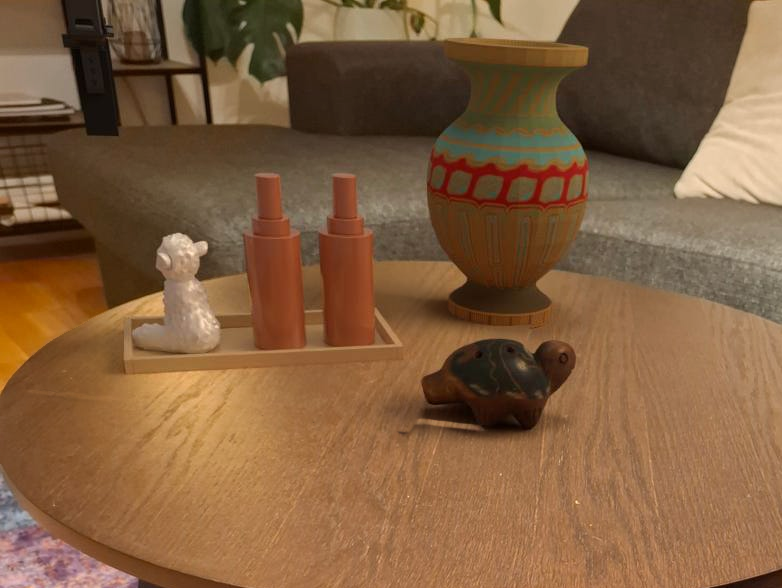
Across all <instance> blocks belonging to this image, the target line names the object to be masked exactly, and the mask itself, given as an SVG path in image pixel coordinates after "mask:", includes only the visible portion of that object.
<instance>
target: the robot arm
mask: <svg viewBox="0 0 782 588" xmlns="http://www.w3.org/2000/svg"><path fill="white" fill-rule="evenodd" d="M64 3H65V10H66V17H67V24H68V27H67V33H61V41H62V46H63V48H64V49H66V48H67V49H72V56H73V61H74V67H75V68H74V69H75V73H76V79H77V86H78V92H79V98H80V102H81V108H82V115H83V120H84V126H85V131H86V132H85V133H86V136H90V137H91V136H93V137H94V136H95V137H120V131H119V125H118V119H117V117H119V116H120V108H119V102H118V95H117V88H116V82H115V75H114V70H113V69H114V68H113V63H112V55H111V48H110V43H109V41H110V40H109V38H115V31H114V25H113V24H107V19H106V17H105V16H104V10H103V3H102V0H64Z"/></svg>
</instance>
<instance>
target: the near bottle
mask: <svg viewBox="0 0 782 588" xmlns="http://www.w3.org/2000/svg"><path fill="white" fill-rule="evenodd" d="M253 175H254V177H253V178H254V189H255V200H256V211H257V213H255V214H252V215H251V217H250V219H251V227H248V228H245V229H244V230H242V237H243V248H244V249H243V250H244V258H245V268H246V269H245V270H246V277H247V279H246V280H247V288H248V289H247V290H248V298H249V309H250V313H251V320H252V331H253V341H254V346H255V347H257V348H258V349H261V350H264V351H268V350H288V349H302V348H304V347H305V346H306V345H307V336H306V320H305V310H306V307H305V288H304V275H303V273H304V272H303V259H302V241H301V240H302V239H301V231H300V230H298V229H296V228H294V227H291V217H290V215H287V214H285V213H283V200H282V186H281V184H282V183H281V176H280V174H278V173H275V172H258V173H255V174H253Z"/></svg>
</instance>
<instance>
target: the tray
mask: <svg viewBox="0 0 782 588" xmlns="http://www.w3.org/2000/svg"><path fill="white" fill-rule="evenodd" d="M214 314H215V318H216V319H217V320H218V322H219V323H220V330H221V333H220V339H219V340H220V342H219V344H218V345H217V346H216V347H215V348H214V349H213V350H211V351H209V352H205V353H201V354H184V353H173V352H164V351H155V350H145V349H142V348H139V347H137V346H136V345H135V344H134V342H133V339H132V332H133V330H134V329H136V328H138V327H141V326H142V325H143V324H144V323H147V324H150V325H152V324H155V323H157V324H159V325H160V326H162V325H165V324H164V317H165V315H147V316H124V317H123V356H122V357H123V358H122V359H123V367H124V372H125V375H126V376H128V375H144V374H165V373H180V372H181V373H182V372H183V373H184V372H199V371H200V372H204V371H221V370H238V369H255V368H256V369H257V368H275V367H276V368H277V367H278V368H279V367H296V366H297V367H298V366H312V365H315V366H316V365H332V364H351V363H352V364H353V363H368V362H387V361H388V362H389V361H404V355H405V354H404V351H405V350H404V345H403V343H402V342H401V341H400V339H399V338H398V336H397V335H396V333H395V331H394V330H393V329H392V328H391V326H390V325H389V324H388V322H387V321H386V319H385V318H384V316H383V315H382V313H381V312H380V311H379V310H378V308H377V307H375V342H374V343H373V344H372V345H370V346H350V347H333V346H330V345H328V344H326V343H325V342H324V337H323V318H322V309H308V310H306V309H305V320H306V336H307V345H306V346H305V347H304V348H302V349H288V350H268V351H264V350H261V349H258V348H257V347H255V346H254V341H253V331H252V320H251V312H228V313H227V312H226V313H214Z"/></svg>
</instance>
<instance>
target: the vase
mask: <svg viewBox="0 0 782 588" xmlns="http://www.w3.org/2000/svg"><path fill="white" fill-rule="evenodd" d="M443 56H444V57H445V58H447V59H448V60H450V61H452V62H453V63H455V64H456V65H458V66H459V67H461V68H462V70H463V71H464V72H465V73H466V75H467V76H468V80H469V82H470V96H469V100H468V101H469V102H468V105H467V108H466V109H465V111H464V112H463V113H462V114H461V115H460V116H459V117H458V118H456V119H455V120H454V121H453V122H451V124H449V126H448V127H446V128H445V130H444V131H442V133H440V135H438V137H437V139H436V142H435V143H434V144H433V147H432V149H431V153H430V156H429V160H428V164H427V171H426V204H427V208H428V213H429V218H430V223H431V226H432V229H433V231H434V234H435V236H436V238H437V241H438V243H439V246H440V248H441V249H442V250H443V252H444V253H445V255H446V256H447V257H448V259H449V260H450V261H451V263H453V265H455V266H456V268H457V269H458V270H459V271H460V272H461V273H462V274H463V275H464V276H465V277H466V281H465V283H463V284H462V285H460V286H459V287H457V288H455V289H454V290H453V291H451V292H450V293H448V298H447V309H448V311H449V312H450V314H451V315H454V316H455V317H457V318H459V319H462V320H464V321H468V322H472V323H476V324H482V325H488V326H500V327H501V326H502V327H517V326H519V327H520V326H521V327H522V326H528V325H530V329H534V328H537V327H541V326H544V325H545V324H548V323H549V322H550V321H551V319H552V311H553V301H552V300H551V298H550V297H549V296H547V294H545V293H544V292H543V291H542V290H540V289H539V288H538V286H537V283H538V281H539V280H541V279H542V278H543V277H544V276H546V275H547V274H548V273H549V272H551V270H553V269H554V267H555V266H557V265H558V264H559V262H561V261H562V259H564V257H566V255H567V254H568V251H569V250H570V249H571V247H572V245H573V243H574V242H575V240H576V239H577V236H578V235H579V233H580V229H581V226H582V223H583V220H584V218H585V214H586V208H587V203H588V197H589V190H590V172H589V166H588V165H589V164H588V158H587V156H586V152H584V148H583V146H582V144H581V143H580V141H579V140H578V138H577V137H576V136H575V134H574V133H573V132H572V131H571V130H570V129H569V128H568V127H567V126H566V124H565V123H564V122H563V121H562V120H561V118H560V117H559V114H558V111H557V104H556V103H557V102H556V99H557V91H558V88H559V85H560V83H561V82H562V80H564V78H565V77H566V76H567V75H569V74H570V73H572V72H575V71H577V70H579V69H581V68H583V67H585V66H587V65H588V59H589V47H587V46H583V45H577V44H570V43H569V44H567V43H561V42H560V43H559V42H549V41H539V40H537V41H536V40H525V39H523V40H522V39H509V38H507V39H506V38H485V37H448V38H447V37H445V38H444V43H443Z"/></svg>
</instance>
